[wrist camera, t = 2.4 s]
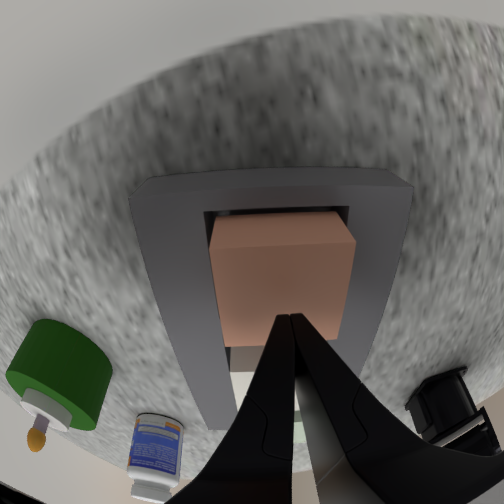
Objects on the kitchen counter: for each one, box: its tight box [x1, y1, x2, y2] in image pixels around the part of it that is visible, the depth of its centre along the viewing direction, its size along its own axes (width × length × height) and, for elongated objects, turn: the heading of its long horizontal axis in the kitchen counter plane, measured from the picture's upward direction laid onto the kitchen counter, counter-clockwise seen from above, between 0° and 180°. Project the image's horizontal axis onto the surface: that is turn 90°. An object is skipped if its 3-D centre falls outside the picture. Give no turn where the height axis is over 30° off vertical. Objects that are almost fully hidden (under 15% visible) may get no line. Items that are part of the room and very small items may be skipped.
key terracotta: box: [209, 211, 356, 347], centre depth 11 cm, size 5×5×2 cm
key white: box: [230, 345, 300, 411], centre depth 14 cm, size 5×5×2 cm
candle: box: [6, 319, 113, 452], centre depth 15 cm, size 8×8×10 cm
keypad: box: [128, 167, 414, 430], centre depth 16 cm, size 11×20×3 cm, turn 3°
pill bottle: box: [127, 414, 184, 504], centre depth 21 cm, size 5×5×10 cm
